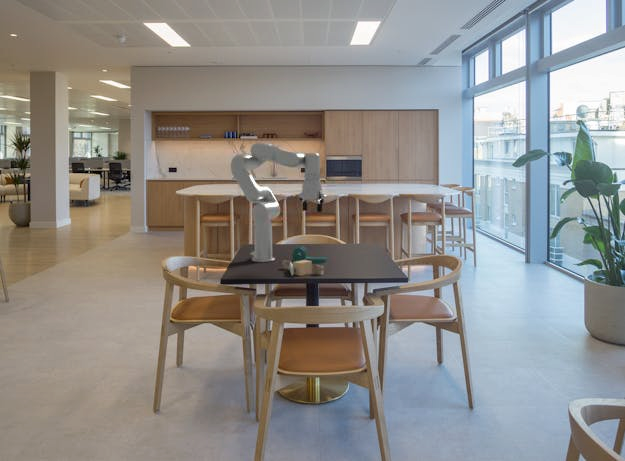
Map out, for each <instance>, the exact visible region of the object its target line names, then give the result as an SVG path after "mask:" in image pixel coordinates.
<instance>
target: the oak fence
mask: <svg viewBox="0 0 625 461" xmlns="http://www.w3.org/2000/svg"><path fill="white" fill-rule="evenodd" d="M290 262H292V260H282V269H283V270H286V271H287V270H289V271H290ZM324 269H325V266H323V265H320V264H315V265H314V275H317V276H318V275H319V276H323V275H324V271H325V270H324Z"/></svg>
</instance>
